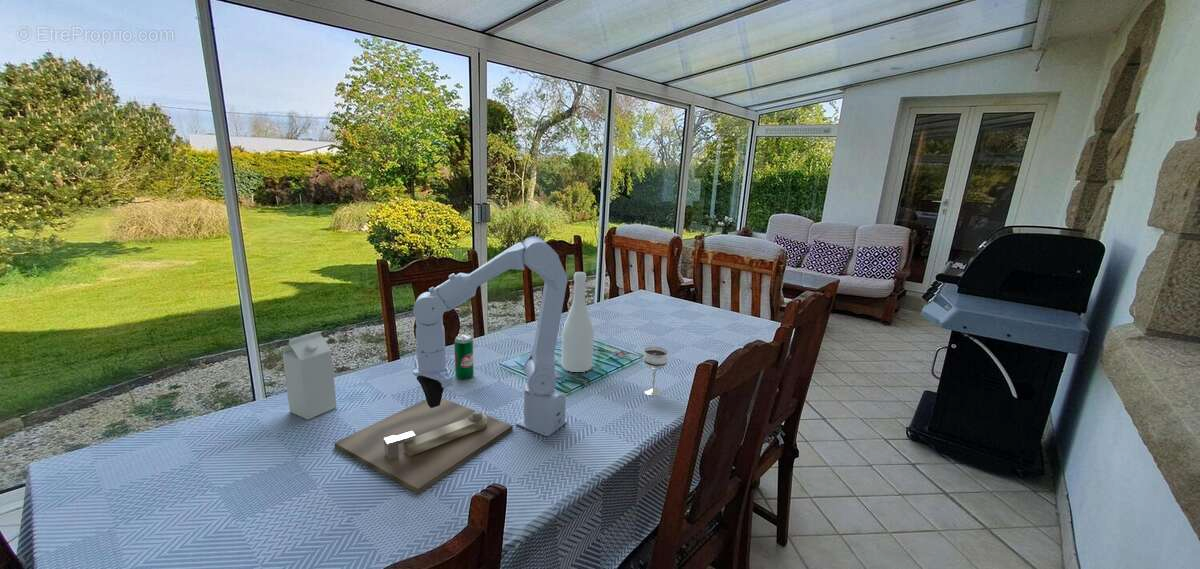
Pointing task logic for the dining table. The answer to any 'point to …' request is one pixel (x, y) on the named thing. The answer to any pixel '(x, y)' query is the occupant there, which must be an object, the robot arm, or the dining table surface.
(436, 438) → the swing bar
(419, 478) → the base board
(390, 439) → the block
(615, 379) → the dining table surface
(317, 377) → the milk carton
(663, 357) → the wineglass
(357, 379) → the dining table surface
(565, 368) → the wine bottle
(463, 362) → the soda can
